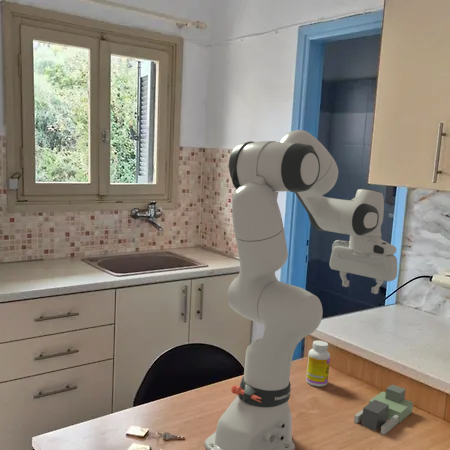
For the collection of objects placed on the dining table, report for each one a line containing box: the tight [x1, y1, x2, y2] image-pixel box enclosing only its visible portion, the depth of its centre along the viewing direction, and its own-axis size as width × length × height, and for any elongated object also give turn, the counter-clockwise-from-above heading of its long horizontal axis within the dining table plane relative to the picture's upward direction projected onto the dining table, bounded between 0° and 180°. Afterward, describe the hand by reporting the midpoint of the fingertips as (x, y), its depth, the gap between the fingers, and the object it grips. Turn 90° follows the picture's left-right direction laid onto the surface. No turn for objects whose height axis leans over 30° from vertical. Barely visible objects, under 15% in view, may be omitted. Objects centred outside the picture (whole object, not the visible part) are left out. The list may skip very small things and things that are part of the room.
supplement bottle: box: [305, 340, 331, 387], centre depth 160 cm, size 7×7×13 cm
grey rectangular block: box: [361, 400, 389, 432], centre depth 137 cm, size 7×4×5 cm, turn 139°
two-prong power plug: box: [353, 384, 414, 436], centre depth 141 cm, size 18×9×6 cm, turn 139°
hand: (359, 289), depth 154 cm, fingers open, 8 cm apart
